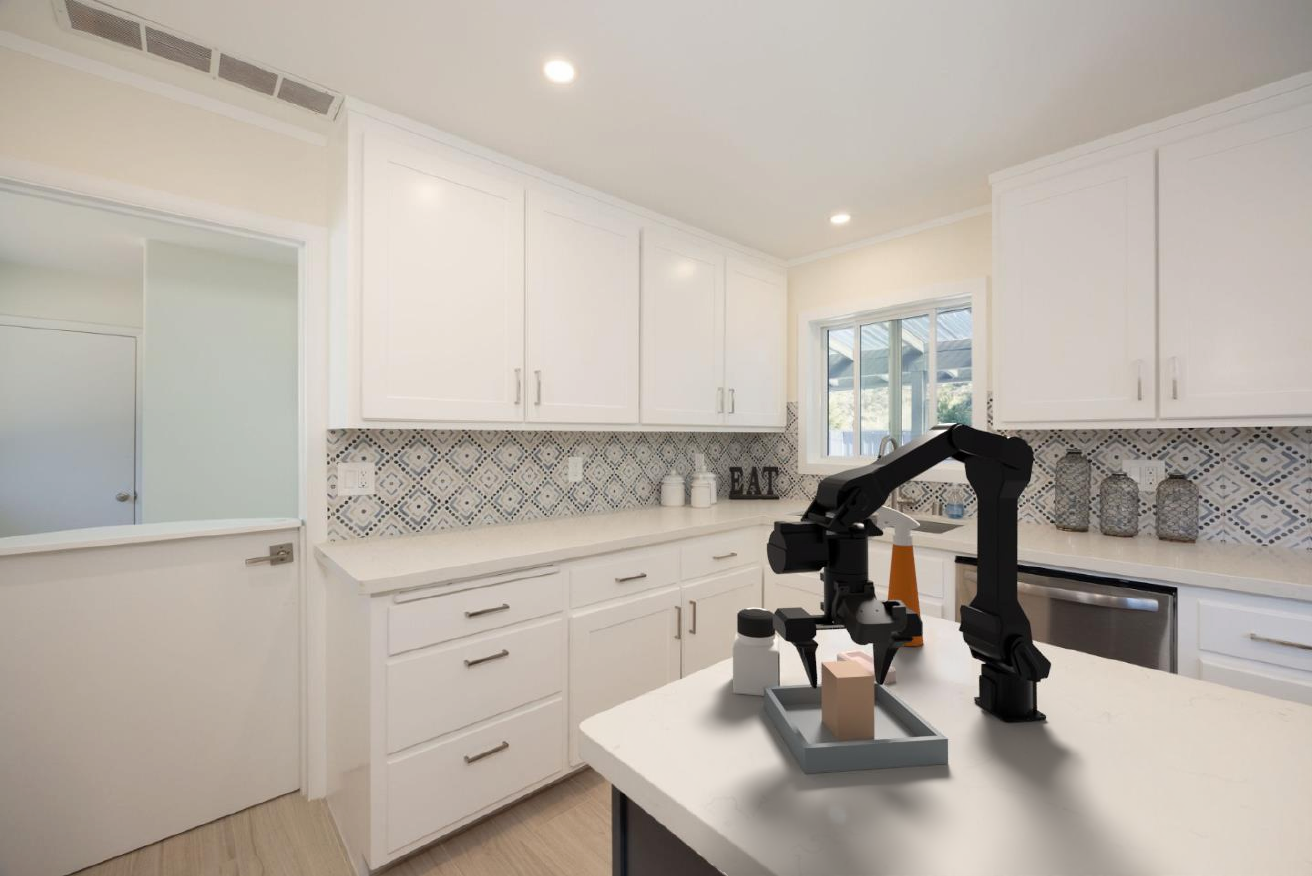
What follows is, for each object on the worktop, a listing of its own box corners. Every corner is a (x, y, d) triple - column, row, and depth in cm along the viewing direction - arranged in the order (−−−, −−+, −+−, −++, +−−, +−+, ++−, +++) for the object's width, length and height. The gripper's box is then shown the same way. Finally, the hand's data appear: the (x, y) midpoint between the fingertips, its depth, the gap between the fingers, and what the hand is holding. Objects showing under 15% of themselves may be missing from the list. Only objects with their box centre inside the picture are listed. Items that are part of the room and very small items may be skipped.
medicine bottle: (779, 698, 82) (779, 619, 82) (732, 694, 83) (732, 616, 83) (778, 678, 89) (778, 605, 89) (735, 674, 90) (734, 603, 90)
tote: (879, 700, 81) (879, 680, 81) (948, 763, 65) (947, 738, 65) (763, 707, 79) (763, 687, 79) (805, 774, 63) (804, 748, 63)
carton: (856, 718, 75) (855, 660, 75) (874, 737, 70) (873, 676, 70) (821, 720, 74) (821, 662, 74) (837, 740, 69) (837, 677, 69)
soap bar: (870, 688, 86) (870, 672, 86) (835, 665, 95) (835, 651, 95) (897, 683, 88) (897, 668, 88) (861, 661, 96) (860, 648, 96)
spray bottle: (869, 628, 112) (868, 502, 113) (926, 638, 106) (925, 505, 106) (860, 638, 107) (859, 506, 107) (920, 650, 100) (918, 509, 101)
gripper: (801, 588, 63) (802, 721, 63) (949, 582, 65) (950, 711, 65) (771, 566, 74) (772, 679, 74) (898, 562, 76) (899, 672, 76)
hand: (846, 685), depth 72 cm, fingers open, 9 cm apart
